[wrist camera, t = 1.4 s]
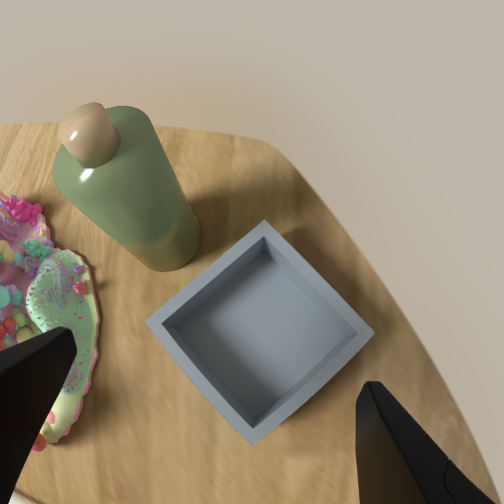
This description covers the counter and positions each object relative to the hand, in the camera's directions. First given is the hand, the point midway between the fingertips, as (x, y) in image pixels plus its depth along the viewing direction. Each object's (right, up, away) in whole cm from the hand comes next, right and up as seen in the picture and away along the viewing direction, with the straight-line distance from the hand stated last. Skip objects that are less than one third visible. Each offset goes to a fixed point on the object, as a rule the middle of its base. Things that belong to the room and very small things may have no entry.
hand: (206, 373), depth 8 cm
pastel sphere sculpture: (-23, -3, +15) cm, 28 cm away
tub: (+2, -3, +13) cm, 14 cm away
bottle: (-6, +5, +16) cm, 18 cm away
